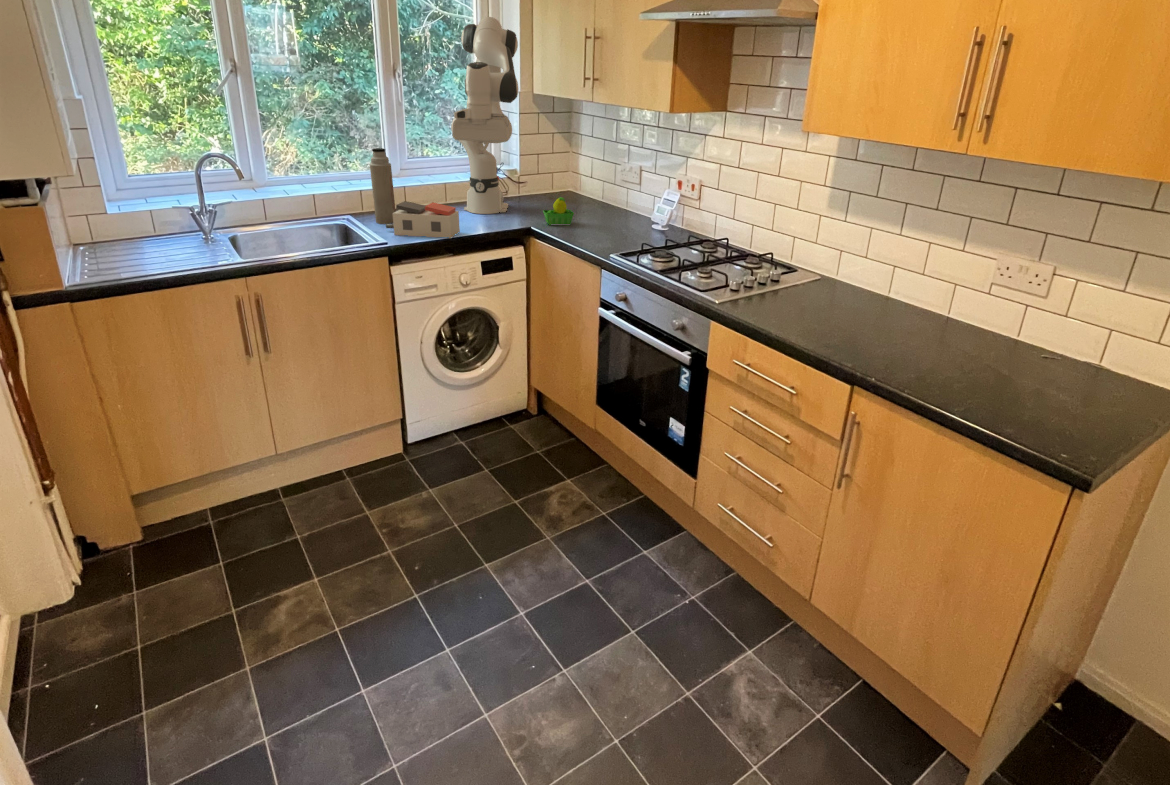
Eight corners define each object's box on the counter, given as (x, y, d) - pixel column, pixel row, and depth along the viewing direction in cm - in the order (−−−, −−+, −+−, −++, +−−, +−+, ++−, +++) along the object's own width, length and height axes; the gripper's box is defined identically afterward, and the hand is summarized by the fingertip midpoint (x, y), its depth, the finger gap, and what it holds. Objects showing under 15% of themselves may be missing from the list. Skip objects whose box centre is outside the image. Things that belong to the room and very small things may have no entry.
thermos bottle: (398, 219, 288) (391, 147, 276) (393, 224, 281) (386, 150, 269) (379, 219, 288) (371, 147, 276) (373, 223, 281) (365, 149, 269)
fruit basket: (570, 221, 291) (570, 193, 286) (575, 226, 283) (575, 197, 278) (542, 222, 288) (542, 194, 284) (546, 227, 281) (546, 198, 276)
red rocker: (432, 207, 268) (432, 202, 267) (455, 212, 267) (455, 207, 266) (424, 211, 261) (424, 206, 260) (447, 217, 260) (448, 211, 259)
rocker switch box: (392, 228, 275) (390, 207, 271) (459, 232, 271) (458, 210, 268) (381, 234, 266) (379, 212, 262) (450, 238, 262) (449, 216, 259)
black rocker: (404, 206, 269) (404, 200, 268) (427, 211, 269) (427, 206, 268) (396, 210, 262) (396, 204, 261) (419, 215, 262) (419, 210, 261)
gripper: (510, 113, 252) (511, 154, 259) (455, 111, 255) (457, 151, 261) (506, 114, 247) (507, 156, 253) (449, 112, 250) (452, 154, 256)
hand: (481, 154), depth 257 cm, fingers closed
